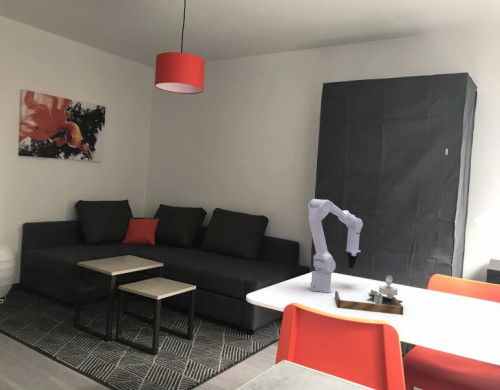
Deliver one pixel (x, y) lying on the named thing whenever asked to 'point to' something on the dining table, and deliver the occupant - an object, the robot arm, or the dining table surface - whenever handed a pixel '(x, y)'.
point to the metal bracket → (380, 297)
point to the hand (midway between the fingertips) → (351, 268)
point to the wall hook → (388, 287)
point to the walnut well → (370, 305)
